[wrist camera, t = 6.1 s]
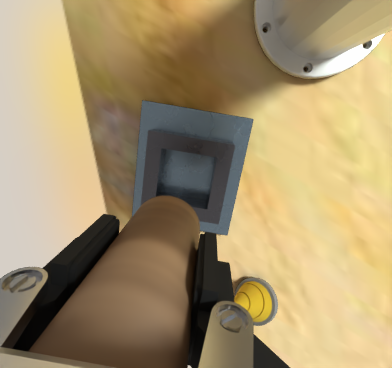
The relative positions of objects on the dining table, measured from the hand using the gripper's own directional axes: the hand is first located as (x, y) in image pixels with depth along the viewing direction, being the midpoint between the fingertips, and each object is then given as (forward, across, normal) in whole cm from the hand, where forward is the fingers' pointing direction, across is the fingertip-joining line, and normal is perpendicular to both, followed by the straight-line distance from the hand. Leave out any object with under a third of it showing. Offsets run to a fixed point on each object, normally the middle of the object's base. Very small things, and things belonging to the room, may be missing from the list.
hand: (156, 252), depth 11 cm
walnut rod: (+3, 0, 0) cm, 3 cm away
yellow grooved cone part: (+17, -10, +14) cm, 24 cm away
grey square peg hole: (+17, 0, 0) cm, 17 cm away
